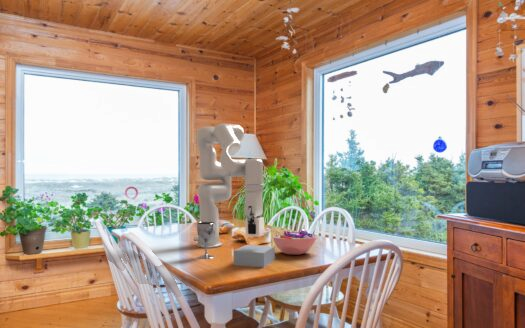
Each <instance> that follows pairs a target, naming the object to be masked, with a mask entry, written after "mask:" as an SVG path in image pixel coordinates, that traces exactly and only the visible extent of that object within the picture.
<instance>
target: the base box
mask: <svg viewBox="0 0 525 328" xmlns="http://www.w3.org/2000/svg"><path fill="white" fill-rule="evenodd" d="M275 246H276V245H275ZM275 246H272V245H258V244H255V245H254V244H245V245H243V246H241V247H239V248H237V249H234V250H233V265H234V266H242V267H255V268H266V267H267V266H269V265H270V264H271V263H273V262H274V261H275V260H276V255H275V254H276V253H275V252H276V247H275Z"/></svg>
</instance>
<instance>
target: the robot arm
mask: <svg viewBox="0 0 525 328" xmlns="http://www.w3.org/2000/svg"><path fill="white" fill-rule="evenodd" d="M244 136H245V133H244V128H243V127H242V126H241V125H239V124H235V123H219V124H217V125H215V126H202V127H199V129H198V130H197V132H196V138H195V139H196V144H197V149H198V151H199V173H200V178H201V179H202V180H206V181H219V182H205V183H202V184H200V185H199V186H198V187H197V191H196V192H197V197H198V198H197V199H198V204H199V222H215V230H214V235H213V237H212V238H211V239H210V240H209V242H208V244H207V249H209V248H218V247H221V246H222V245H223V242H221V241H220V228H219V227H220V224H219V223H220V216H219V213H220V212H219V208H218V206H217V205H216V204H215V202H225V201H229V200H230V199H231V197H232V191H233V189H232V187H233V186H232V178H244V193H245V195H244V216H245V218H247V220H248V234H256V224H255V218H256V217H262V215H263V214H264V213H263V212H264V202H263V193H264V165H263V164H264V163H263V160H262V159H260V158H248V159H247V158H246V159H245V158H240V159H239V158H235V159H234V158H232V156H234V155H235V154H237V153H238V152H239V150H240V149H241V141H242V140H243V139H244ZM212 144H213V145H214V144H215V145H219V146H220V148H221V151H220V155H219V161H218V160H217V151H216V149H215V147H214V146H213V145H212ZM252 218H253V219H252ZM193 241H194V242H197V243H196V247H199V248H204V249H205V245H204V242H203V241H202V240H201V239H200V237H199V236H194V237H193Z"/></svg>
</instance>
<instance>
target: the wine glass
mask: <svg viewBox="0 0 525 328" xmlns="http://www.w3.org/2000/svg"><path fill="white" fill-rule="evenodd" d="M214 230H215V222H200V221H198V222H196V232H197V237H200V239H201V240H202V241H203V242H204V245H205V248H204V254H202V255H198V256H197V258H198V259H201V260H206V259H208V260H209V259H214V258H215V255H214V254H213V255H212V254H208V248H207V244H208V242H209V240H210V239H211V238H212V237H213V235H214Z"/></svg>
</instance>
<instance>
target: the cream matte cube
mask: <svg viewBox="0 0 525 328" xmlns="http://www.w3.org/2000/svg"><path fill="white" fill-rule="evenodd" d="M244 219H245V221H244V222H245V223H244V225H245V237H257V238H258V237H259V238H260V237H261V236H264V235H265V217H263V216H261V217H256V218H255V224H256V234H248V220H247V217H245V218H244ZM252 219H253V218H252Z"/></svg>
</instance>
